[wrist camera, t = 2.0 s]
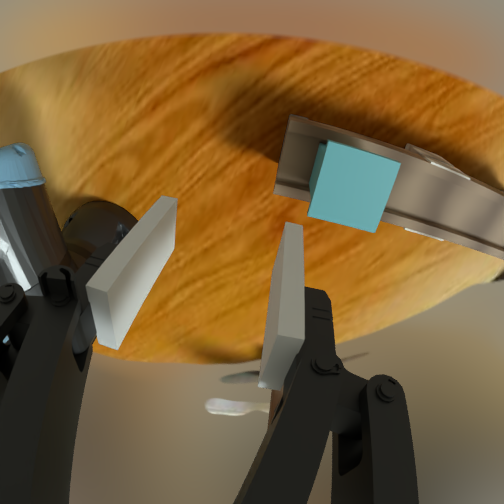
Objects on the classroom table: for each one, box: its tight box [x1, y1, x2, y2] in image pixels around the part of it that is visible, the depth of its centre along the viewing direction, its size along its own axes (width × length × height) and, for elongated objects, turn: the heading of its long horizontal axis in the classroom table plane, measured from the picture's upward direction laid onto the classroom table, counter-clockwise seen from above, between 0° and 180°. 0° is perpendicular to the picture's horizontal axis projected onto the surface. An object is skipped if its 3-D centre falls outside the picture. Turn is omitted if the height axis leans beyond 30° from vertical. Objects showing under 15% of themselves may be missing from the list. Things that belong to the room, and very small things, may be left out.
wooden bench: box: [273, 114, 504, 260], centre depth 30 cm, size 32×7×8 cm, turn 79°
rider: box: [307, 140, 401, 233], centre depth 25 cm, size 6×6×5 cm
